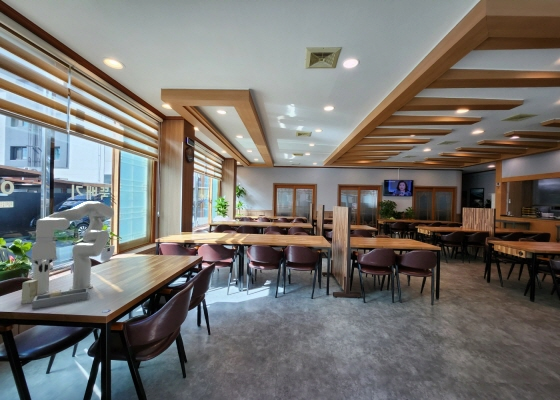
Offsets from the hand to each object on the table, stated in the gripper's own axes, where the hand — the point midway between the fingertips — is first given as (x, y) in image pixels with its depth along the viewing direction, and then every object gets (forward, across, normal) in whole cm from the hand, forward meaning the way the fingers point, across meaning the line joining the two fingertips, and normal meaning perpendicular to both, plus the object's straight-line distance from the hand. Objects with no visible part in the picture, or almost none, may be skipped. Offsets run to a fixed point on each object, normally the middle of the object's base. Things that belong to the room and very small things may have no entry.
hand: (43, 271), depth 139 cm
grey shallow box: (+19, -9, 0) cm, 21 cm away
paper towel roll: (+19, +3, -26) cm, 33 cm away
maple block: (+17, -6, 0) cm, 18 cm away
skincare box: (+19, +6, -11) cm, 23 cm away
